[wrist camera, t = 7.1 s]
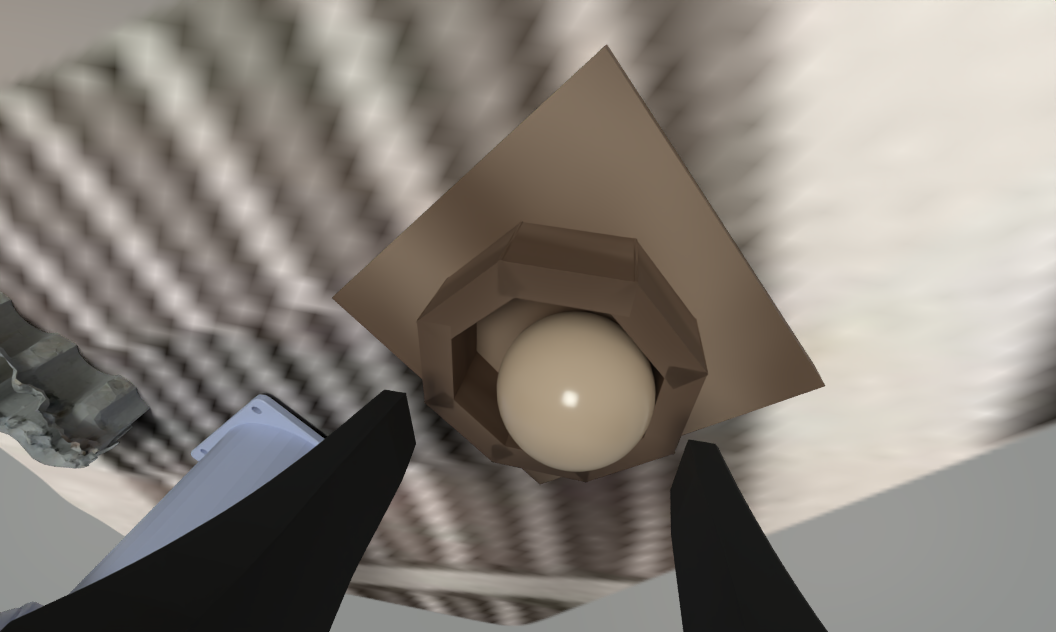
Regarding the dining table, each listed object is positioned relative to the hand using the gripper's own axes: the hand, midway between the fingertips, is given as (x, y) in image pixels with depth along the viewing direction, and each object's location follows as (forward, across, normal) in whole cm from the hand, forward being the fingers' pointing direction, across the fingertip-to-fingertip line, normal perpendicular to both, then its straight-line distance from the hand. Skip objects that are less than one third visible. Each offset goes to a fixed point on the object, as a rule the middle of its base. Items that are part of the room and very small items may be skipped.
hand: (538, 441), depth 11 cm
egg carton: (+6, +28, +8) cm, 30 cm away
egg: (+2, -1, 0) cm, 2 cm away
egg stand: (+5, 0, 0) cm, 5 cm away
